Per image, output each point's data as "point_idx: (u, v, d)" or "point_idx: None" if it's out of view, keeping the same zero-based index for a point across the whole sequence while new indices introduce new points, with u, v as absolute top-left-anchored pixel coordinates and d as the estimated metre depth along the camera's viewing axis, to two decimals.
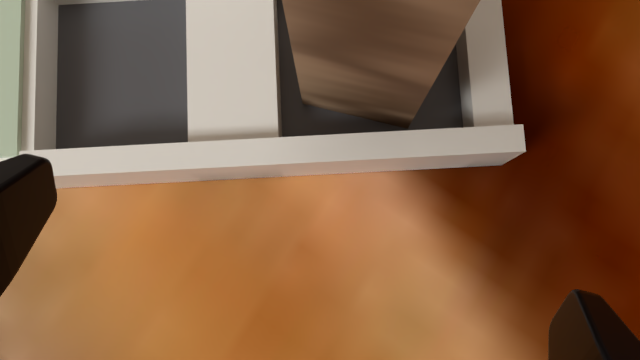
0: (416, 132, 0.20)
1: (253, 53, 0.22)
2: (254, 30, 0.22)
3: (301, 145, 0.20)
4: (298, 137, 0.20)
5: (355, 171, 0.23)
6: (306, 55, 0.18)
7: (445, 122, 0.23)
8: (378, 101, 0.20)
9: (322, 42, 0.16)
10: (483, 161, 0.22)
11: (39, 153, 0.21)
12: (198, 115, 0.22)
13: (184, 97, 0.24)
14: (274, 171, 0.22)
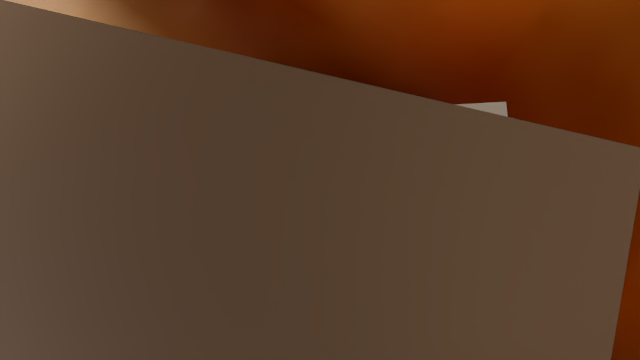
0: None
1: None
2: None
3: None
4: None
5: None
6: None
7: None
8: None
9: None
10: None
11: None
12: None
13: None
14: None
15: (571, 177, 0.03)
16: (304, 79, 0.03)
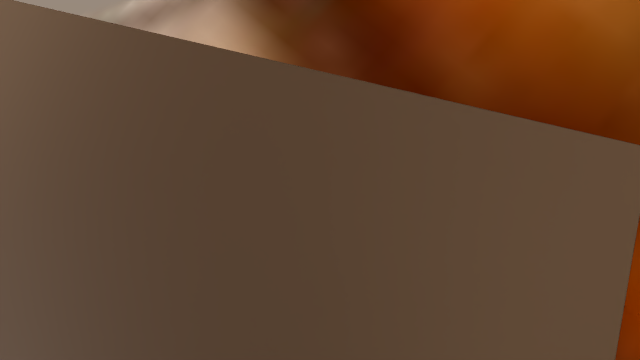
0: None
1: None
2: None
3: None
4: None
5: None
6: None
7: None
8: None
9: None
10: None
11: None
12: None
13: None
14: None
15: (575, 176, 0.03)
16: (308, 78, 0.03)
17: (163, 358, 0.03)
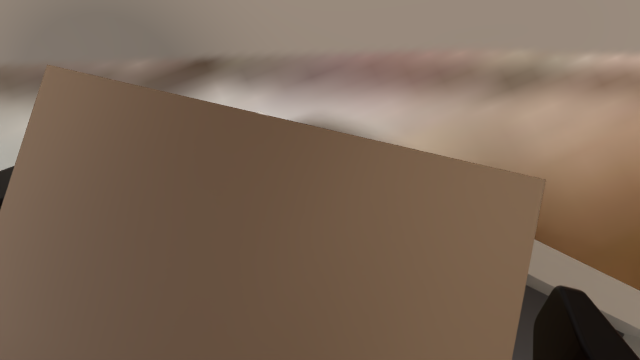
0: None
1: None
2: None
3: None
4: None
5: None
6: None
7: None
8: None
9: None
10: None
11: None
12: None
13: None
14: None
15: (493, 199, 0.05)
16: (309, 131, 0.05)
17: (211, 326, 0.05)
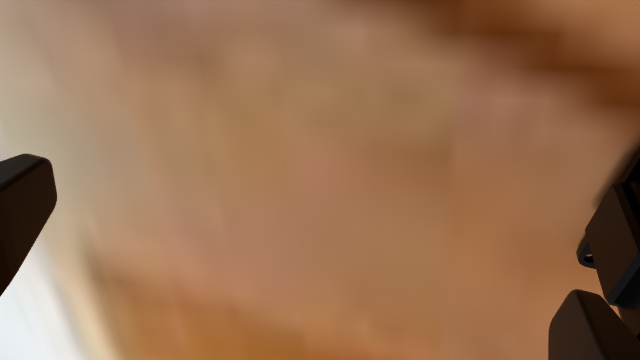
0: None
1: None
2: None
3: None
4: None
5: None
6: None
7: None
8: None
9: None
10: None
11: None
12: None
13: None
14: None
15: None
16: None
17: None
